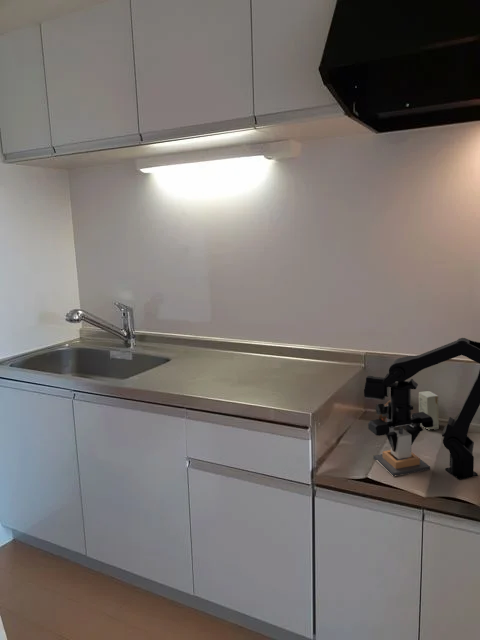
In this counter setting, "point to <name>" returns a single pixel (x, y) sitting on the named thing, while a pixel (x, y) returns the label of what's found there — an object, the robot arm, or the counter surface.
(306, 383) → the counter surface
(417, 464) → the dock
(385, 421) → the tin
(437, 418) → the skincare box
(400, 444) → the light gray block
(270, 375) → the counter surface
